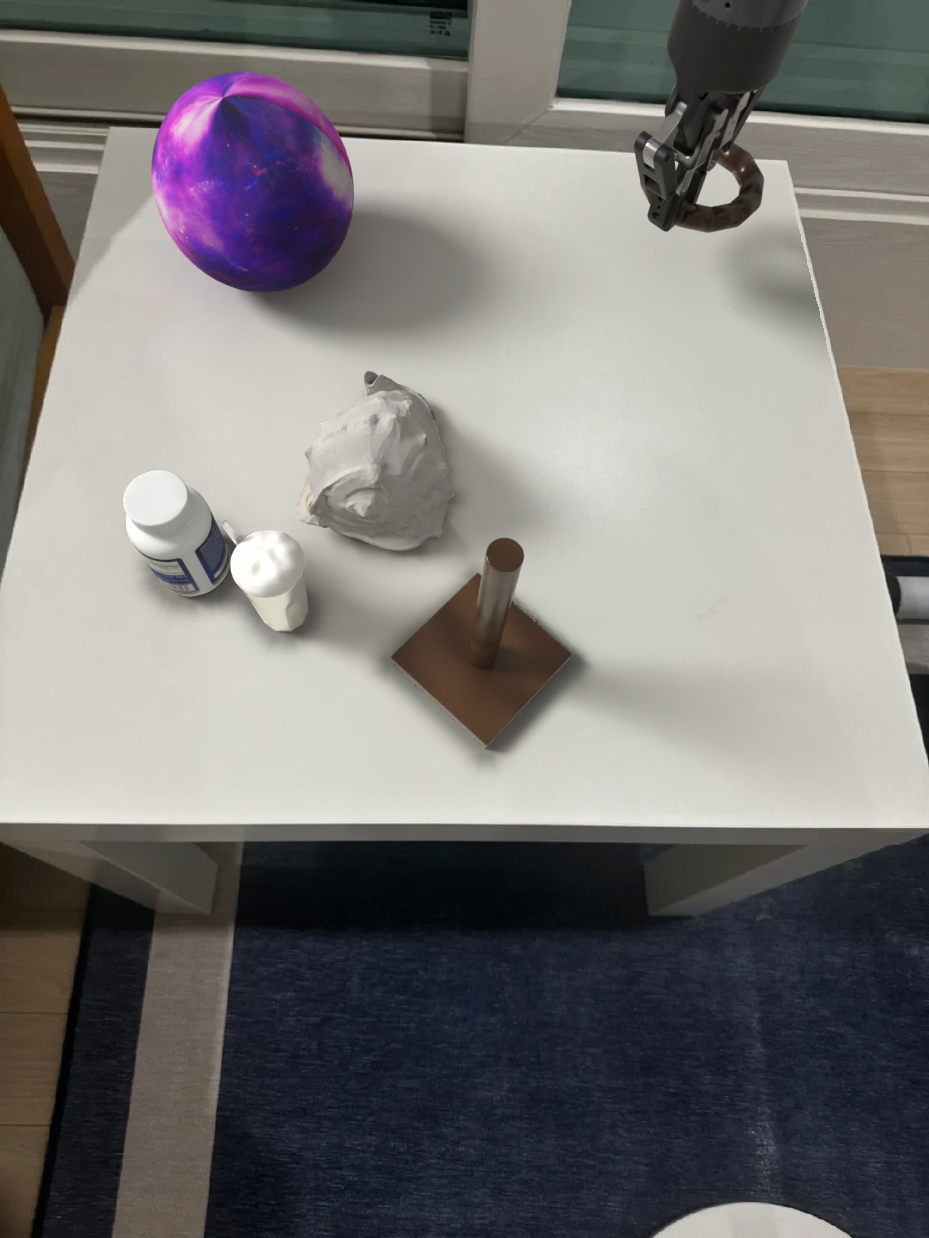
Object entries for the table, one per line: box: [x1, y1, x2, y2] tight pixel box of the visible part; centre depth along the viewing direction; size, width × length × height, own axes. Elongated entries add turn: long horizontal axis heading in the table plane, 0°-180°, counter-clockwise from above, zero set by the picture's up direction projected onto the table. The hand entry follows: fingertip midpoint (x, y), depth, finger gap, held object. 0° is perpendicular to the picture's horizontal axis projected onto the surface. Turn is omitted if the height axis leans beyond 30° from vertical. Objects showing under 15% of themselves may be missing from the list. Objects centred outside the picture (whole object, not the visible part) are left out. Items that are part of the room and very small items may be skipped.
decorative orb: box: [151, 71, 355, 294], centre depth 65 cm, size 15×15×15 cm
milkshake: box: [220, 519, 309, 632], centre depth 56 cm, size 4×5×10 cm
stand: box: [389, 537, 573, 750], centre depth 52 cm, size 9×9×17 cm
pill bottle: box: [122, 469, 231, 597], centre depth 57 cm, size 5×5×10 cm
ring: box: [639, 142, 765, 234], centre depth 67 cm, size 10×10×2 cm
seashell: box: [295, 370, 455, 552], centre depth 61 cm, size 12×14×10 cm
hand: (670, 214), depth 67 cm, fingers closed on ring, 2 cm apart
